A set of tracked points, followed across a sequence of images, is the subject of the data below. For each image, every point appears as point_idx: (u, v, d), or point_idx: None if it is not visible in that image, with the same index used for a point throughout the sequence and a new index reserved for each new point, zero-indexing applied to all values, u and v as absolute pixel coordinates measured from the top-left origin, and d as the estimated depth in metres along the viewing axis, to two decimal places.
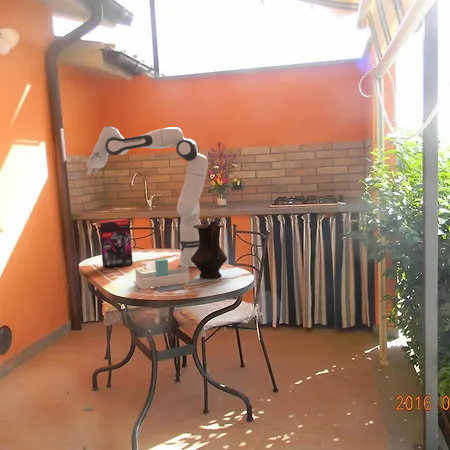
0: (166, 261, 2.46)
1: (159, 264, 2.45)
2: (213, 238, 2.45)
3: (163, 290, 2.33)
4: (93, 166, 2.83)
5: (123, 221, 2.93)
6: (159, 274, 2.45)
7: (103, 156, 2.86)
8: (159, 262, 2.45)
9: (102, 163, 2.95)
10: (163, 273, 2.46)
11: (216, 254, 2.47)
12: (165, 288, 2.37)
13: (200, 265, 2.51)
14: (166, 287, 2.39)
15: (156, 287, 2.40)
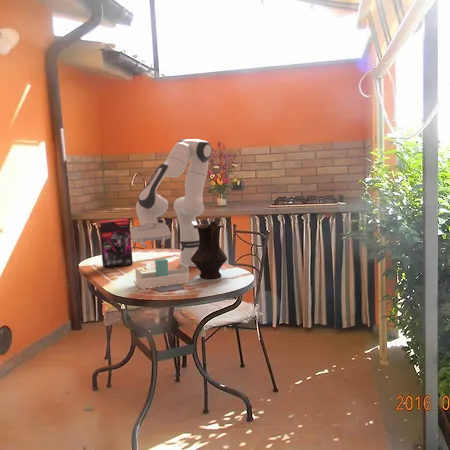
0: (166, 261, 2.46)
1: (159, 264, 2.45)
2: (213, 238, 2.45)
3: (163, 290, 2.33)
4: (137, 236, 2.57)
5: (123, 221, 2.93)
6: (159, 274, 2.45)
7: (144, 223, 2.62)
8: (159, 262, 2.45)
9: (161, 231, 2.63)
10: (163, 273, 2.46)
11: (216, 254, 2.47)
12: (165, 288, 2.37)
13: (200, 265, 2.51)
14: (166, 287, 2.39)
15: (156, 287, 2.40)
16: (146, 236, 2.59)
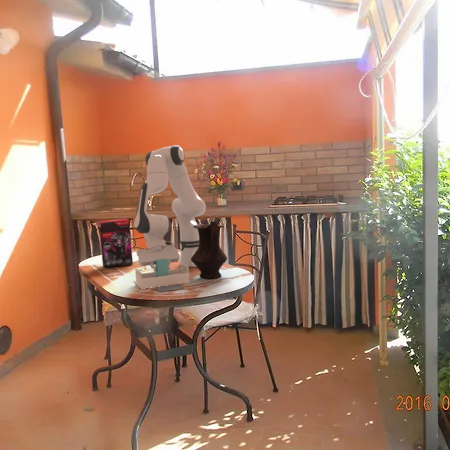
0: (166, 261, 2.46)
1: (159, 264, 2.45)
2: (213, 238, 2.45)
3: (163, 290, 2.33)
4: (145, 259, 2.47)
5: (123, 221, 2.93)
6: (159, 274, 2.45)
7: (151, 245, 2.51)
8: (159, 262, 2.45)
9: (169, 254, 2.52)
10: (163, 273, 2.46)
11: (216, 254, 2.47)
12: (165, 288, 2.37)
13: (200, 265, 2.51)
14: (166, 287, 2.39)
15: (156, 287, 2.40)
16: (154, 259, 2.48)
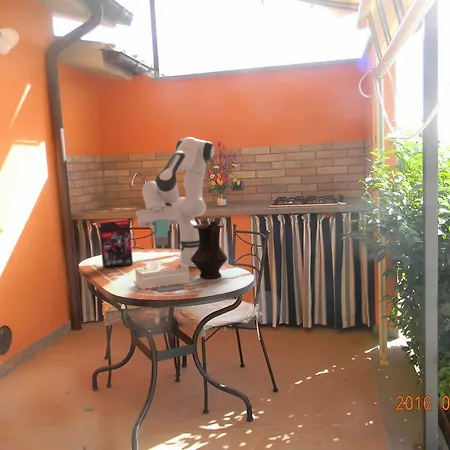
0: (165, 221, 2.39)
1: (158, 224, 2.38)
2: (213, 238, 2.45)
3: (163, 290, 2.33)
4: (144, 219, 2.40)
5: (123, 221, 2.93)
6: (158, 234, 2.39)
7: (151, 206, 2.45)
8: (158, 222, 2.38)
9: (168, 215, 2.46)
10: (162, 234, 2.39)
11: (216, 254, 2.47)
12: (165, 288, 2.37)
13: (200, 265, 2.51)
14: (166, 287, 2.39)
15: (156, 287, 2.40)
16: (153, 220, 2.41)
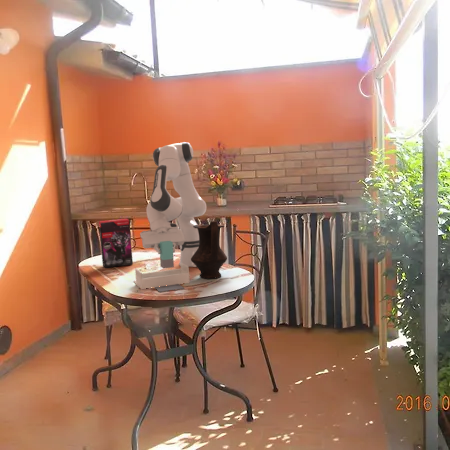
0: (171, 243, 2.34)
1: (164, 246, 2.33)
2: (213, 238, 2.45)
3: (163, 290, 2.33)
4: (148, 241, 2.35)
5: (123, 221, 2.93)
6: (163, 256, 2.33)
7: (155, 227, 2.39)
8: (164, 244, 2.33)
9: (174, 236, 2.40)
10: (168, 256, 2.34)
11: (216, 254, 2.47)
12: (165, 288, 2.37)
13: (200, 265, 2.51)
14: (166, 287, 2.39)
15: (156, 287, 2.40)
16: (158, 241, 2.36)
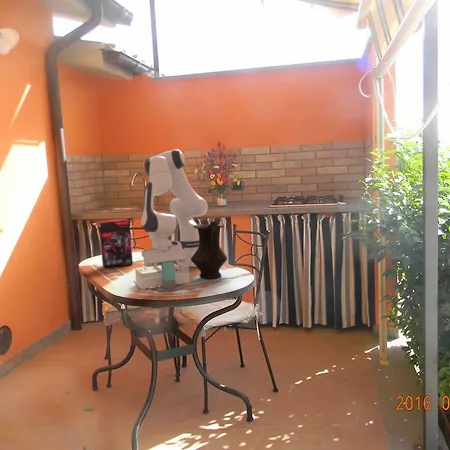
0: (173, 264, 2.35)
1: (165, 267, 2.34)
2: (213, 238, 2.45)
3: (163, 290, 2.33)
4: (150, 260, 2.36)
5: (123, 221, 2.93)
6: (165, 278, 2.35)
7: (157, 245, 2.40)
8: (165, 265, 2.34)
9: (175, 254, 2.42)
10: (170, 277, 2.36)
11: (216, 254, 2.47)
12: None
13: (200, 265, 2.51)
14: None
15: (156, 287, 2.40)
16: (159, 260, 2.37)
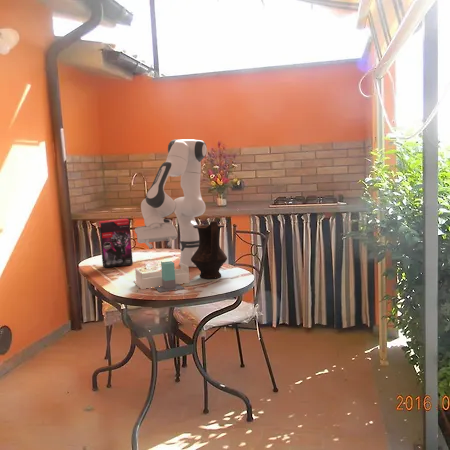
0: (173, 264, 2.35)
1: (165, 267, 2.34)
2: (213, 238, 2.45)
3: (163, 290, 2.33)
4: (143, 236, 2.46)
5: (123, 221, 2.93)
6: (165, 278, 2.35)
7: (149, 223, 2.51)
8: (165, 265, 2.34)
9: (167, 231, 2.52)
10: (170, 277, 2.36)
11: (216, 254, 2.47)
12: None
13: (200, 265, 2.51)
14: None
15: (156, 287, 2.40)
16: (152, 237, 2.48)
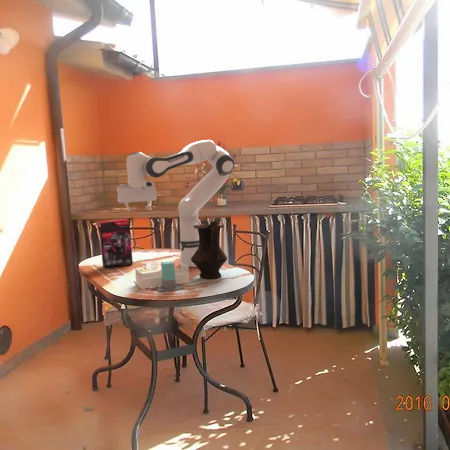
0: (173, 264, 2.35)
1: (165, 267, 2.34)
2: (213, 238, 2.45)
3: (163, 290, 2.33)
4: (123, 200, 2.58)
5: (123, 221, 2.93)
6: (165, 278, 2.35)
7: (132, 186, 2.57)
8: (165, 265, 2.34)
9: (147, 195, 2.62)
10: (170, 277, 2.36)
11: (216, 254, 2.47)
12: None
13: (200, 265, 2.51)
14: None
15: (156, 287, 2.40)
16: (132, 200, 2.59)
